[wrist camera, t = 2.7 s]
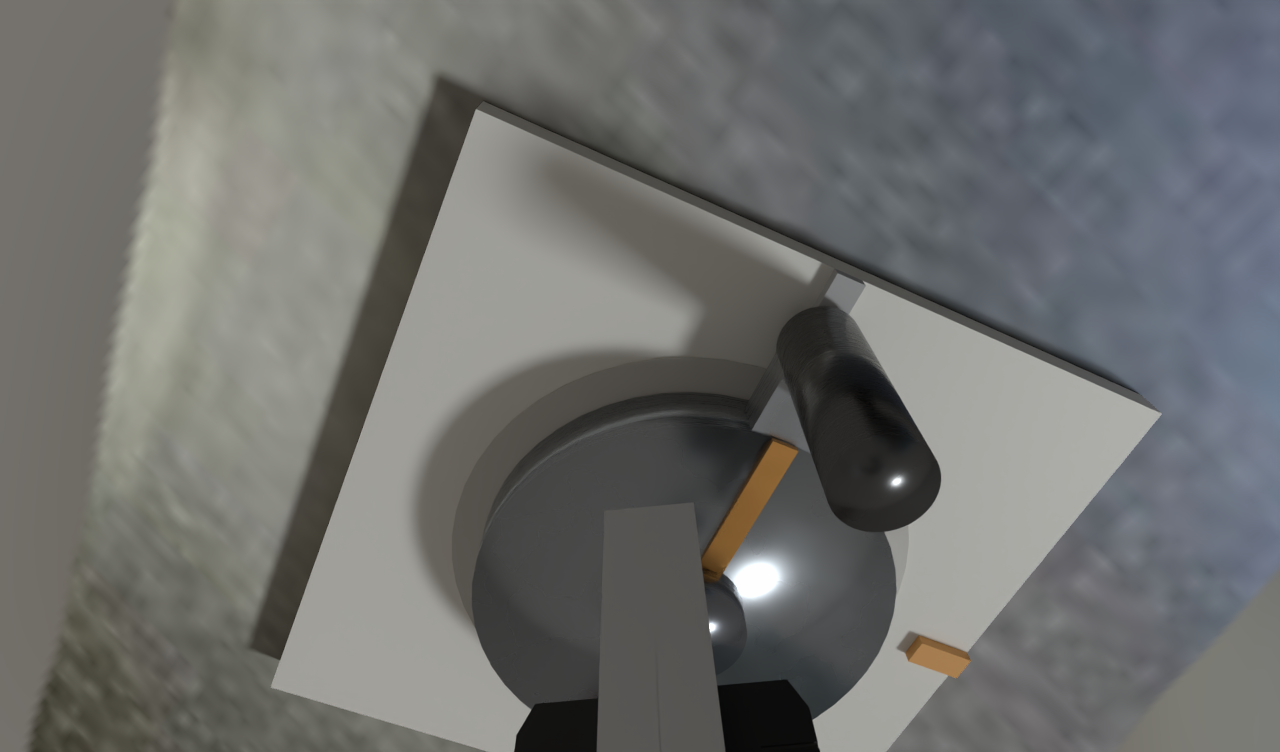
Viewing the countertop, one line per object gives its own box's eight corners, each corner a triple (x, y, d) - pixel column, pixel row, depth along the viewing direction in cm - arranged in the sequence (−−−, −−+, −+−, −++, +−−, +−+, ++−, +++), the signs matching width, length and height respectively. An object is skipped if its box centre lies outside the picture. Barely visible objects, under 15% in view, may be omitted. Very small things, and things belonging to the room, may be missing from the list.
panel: (483, 101, 23) (473, 112, 22) (1141, 395, 28) (1169, 420, 26) (282, 662, 32) (266, 695, 31) (803, 819, 37) (810, 855, 35)
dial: (763, 750, 33) (797, 961, 26) (428, 644, 30) (370, 848, 23) (1028, 386, 26) (1168, 544, 19) (624, 210, 23) (622, 321, 17)
